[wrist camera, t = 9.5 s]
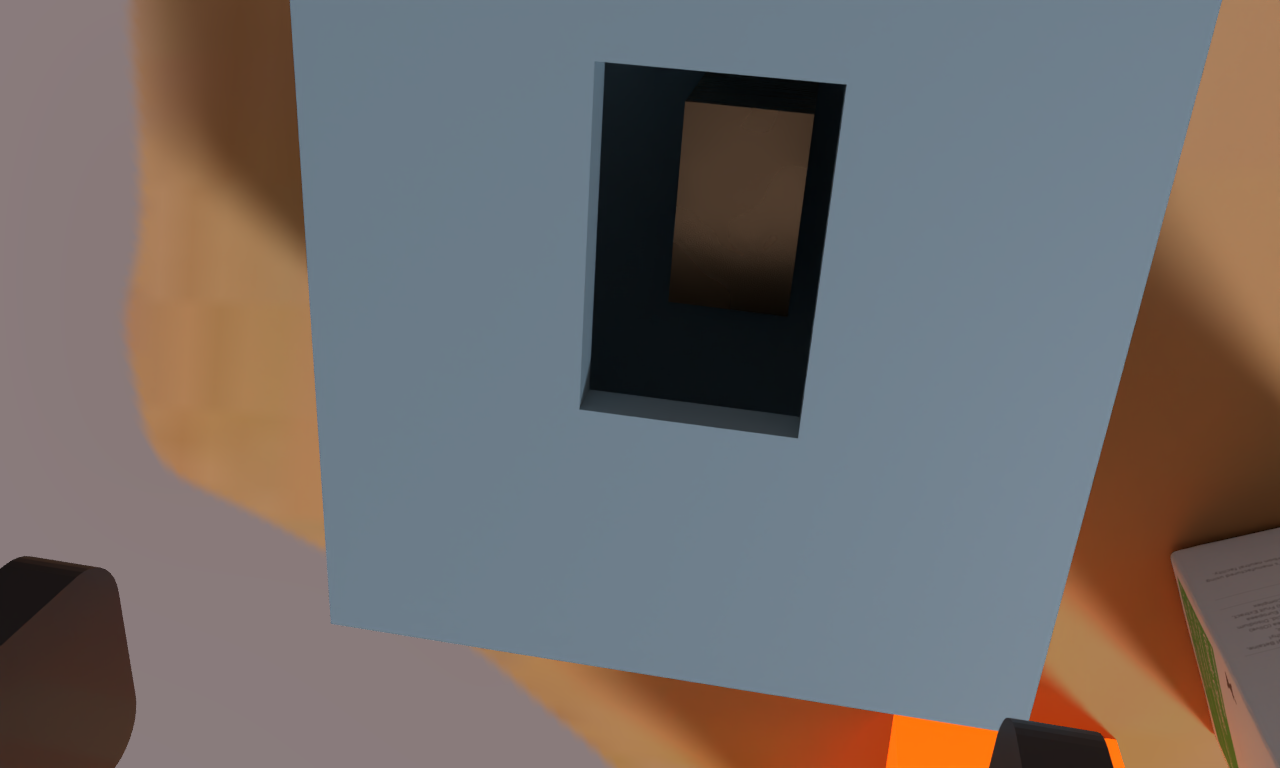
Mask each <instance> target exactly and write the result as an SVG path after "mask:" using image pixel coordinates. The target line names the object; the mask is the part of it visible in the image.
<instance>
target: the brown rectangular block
mask: <svg viewBox="0 0 1280 768" xmlns="http://www.w3.org/2000/svg"><path fill="white" fill-rule="evenodd" d="M818 87H819V82H813V81H803V80H792V79H781V78H770V77H760V76H749V75H738V74H727V73H716V72H706V73H705V74H704V75H703V77H702V78H701V80H700V81H699V82H698V84H697V85H696V87H695V88H694V89H693V91H692V92H691V94H690V95H689V97H688V98H687V99H686V101H685V109H684V121H683V133H682V145H681V157H680V168H679V180H678V192H677V204H676V216H675V227H674V239H673V251H672V263H671V275H670V286H669V298H668V302H674V303H682V304H690V305H698V306H706V307H714V308H722V309H730V310H738V311H746V312H754V313H762V314H770V315H778V316H786V317H787V316H788V309H789V302H790V295H791V287H792V280H793V273H794V266H795V259H796V251H797V244H798V236H799V229H800V221H801V214H802V206H803V199H804V191H805V184H806V176H807V169H808V161H809V154H810V146H811V139H812V132H813V124H814V117H815V109H816V102H817V94H818Z"/></svg>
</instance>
